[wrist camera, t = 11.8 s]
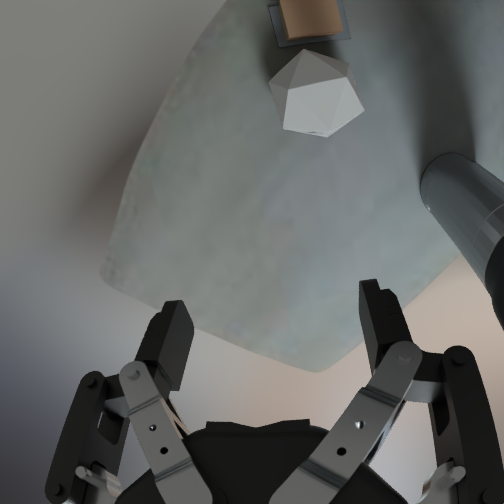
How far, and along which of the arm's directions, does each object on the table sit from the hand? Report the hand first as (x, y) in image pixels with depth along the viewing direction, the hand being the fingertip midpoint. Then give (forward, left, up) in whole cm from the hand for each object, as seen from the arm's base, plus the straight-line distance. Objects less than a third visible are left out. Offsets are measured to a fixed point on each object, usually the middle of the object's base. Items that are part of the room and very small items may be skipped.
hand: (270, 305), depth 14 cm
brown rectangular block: (-6, -14, -26) cm, 30 cm away
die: (-5, -6, -26) cm, 27 cm away
